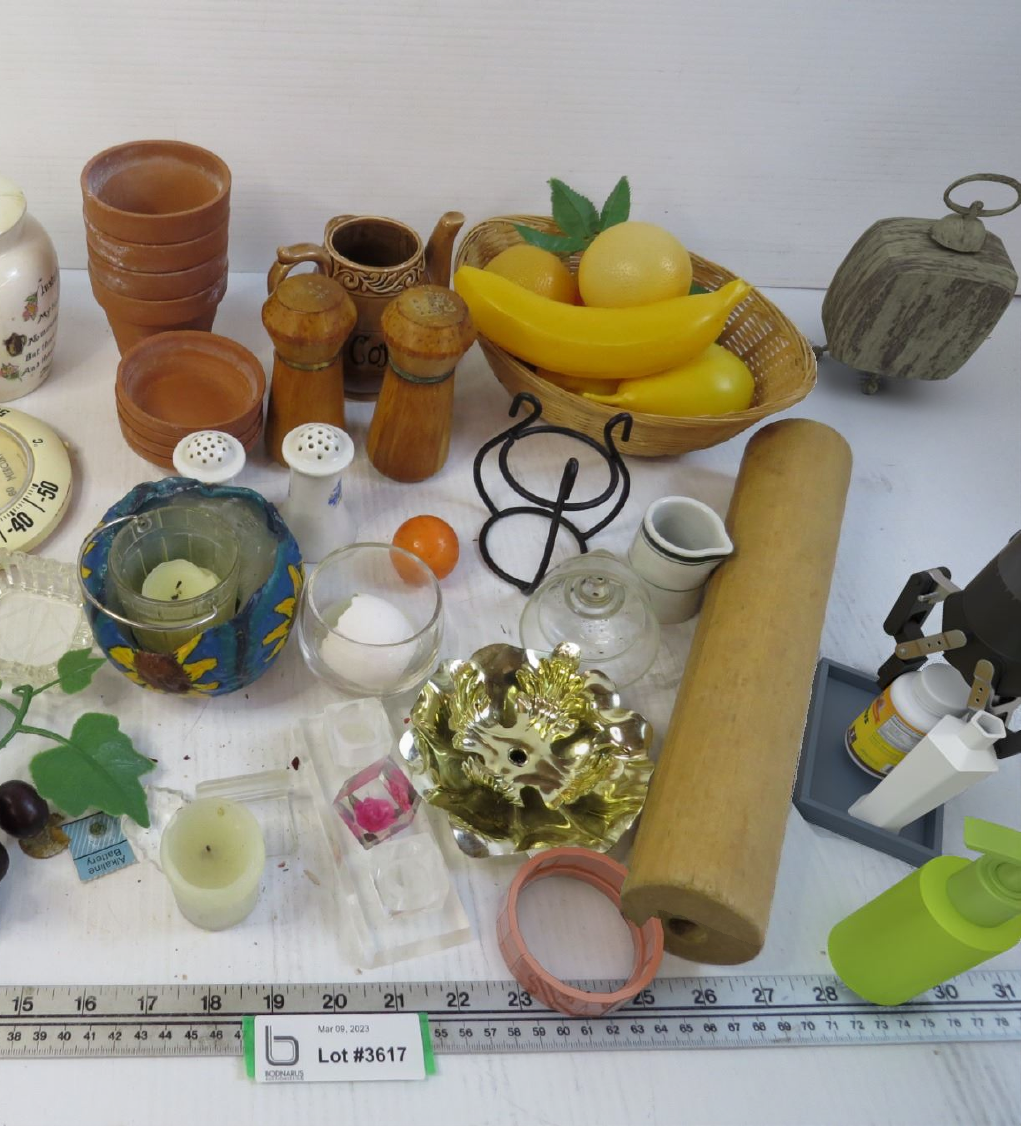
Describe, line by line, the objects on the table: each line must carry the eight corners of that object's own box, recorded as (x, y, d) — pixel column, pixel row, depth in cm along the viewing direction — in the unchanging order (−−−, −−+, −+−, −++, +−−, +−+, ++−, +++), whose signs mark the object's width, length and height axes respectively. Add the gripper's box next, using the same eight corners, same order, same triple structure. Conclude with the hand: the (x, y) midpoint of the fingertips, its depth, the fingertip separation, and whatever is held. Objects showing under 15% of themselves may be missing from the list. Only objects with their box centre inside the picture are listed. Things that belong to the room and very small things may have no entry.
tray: (925, 871, 73) (941, 860, 71) (787, 812, 76) (800, 800, 74) (935, 717, 82) (949, 704, 80) (811, 669, 84) (823, 656, 83)
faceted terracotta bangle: (667, 996, 66) (694, 975, 62) (533, 1043, 64) (552, 1024, 60) (592, 857, 73) (613, 829, 69) (468, 895, 70) (482, 869, 66)
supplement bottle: (868, 711, 80) (939, 641, 72) (928, 762, 77) (1009, 695, 69) (826, 743, 77) (895, 674, 70) (887, 797, 75) (965, 731, 67)
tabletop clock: (920, 368, 112) (1066, 164, 93) (936, 418, 107) (1095, 213, 87) (793, 346, 114) (909, 142, 94) (802, 395, 108) (928, 189, 89)
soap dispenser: (807, 905, 71) (970, 782, 55) (906, 948, 69) (1103, 834, 54) (797, 979, 67) (969, 871, 52) (901, 1027, 66) (1111, 929, 50)
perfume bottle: (833, 827, 75) (946, 732, 63) (847, 785, 77) (958, 686, 65) (894, 860, 73) (1021, 769, 62) (907, 817, 75) (1031, 721, 64)
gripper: (1211, 660, 56) (1025, 789, 69) (1024, 489, 65) (890, 633, 78) (1114, 690, 55) (942, 816, 68) (936, 511, 63) (814, 653, 76)
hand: (915, 717), depth 73 cm, fingers closed on supplement bottle, 5 cm apart
